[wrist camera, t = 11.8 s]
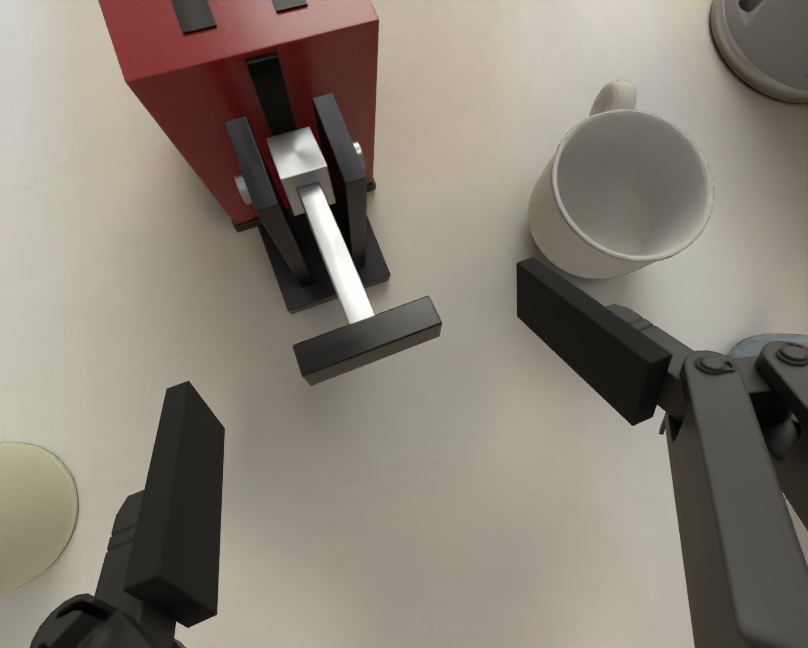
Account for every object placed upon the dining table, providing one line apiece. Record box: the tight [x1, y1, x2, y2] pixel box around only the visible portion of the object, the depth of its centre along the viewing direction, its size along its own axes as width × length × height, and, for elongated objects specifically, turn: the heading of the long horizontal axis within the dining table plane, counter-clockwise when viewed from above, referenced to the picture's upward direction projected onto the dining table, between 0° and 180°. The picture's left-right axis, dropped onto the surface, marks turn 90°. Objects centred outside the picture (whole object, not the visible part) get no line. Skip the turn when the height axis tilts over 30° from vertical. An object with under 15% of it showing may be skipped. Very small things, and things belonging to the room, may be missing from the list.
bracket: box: [224, 93, 390, 314], centre depth 24 cm, size 7×8×14 cm
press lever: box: [265, 126, 442, 386], centre depth 17 cm, size 12×6×2 cm, turn 21°
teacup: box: [528, 80, 714, 279], centre depth 30 cm, size 14×11×8 cm
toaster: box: [98, 0, 379, 232], centre depth 25 cm, size 12×11×15 cm
